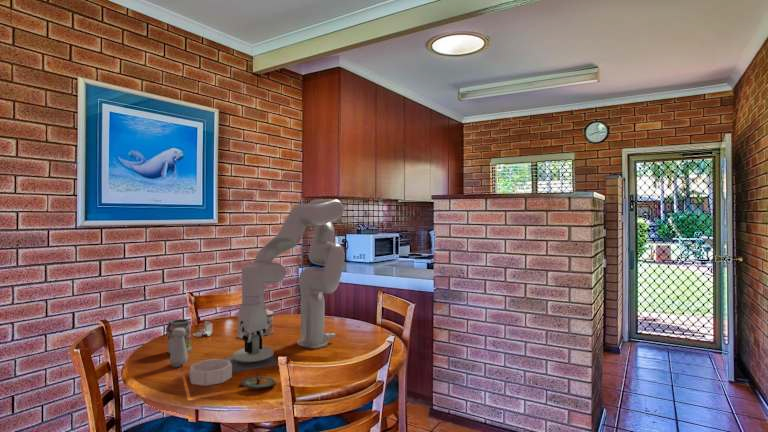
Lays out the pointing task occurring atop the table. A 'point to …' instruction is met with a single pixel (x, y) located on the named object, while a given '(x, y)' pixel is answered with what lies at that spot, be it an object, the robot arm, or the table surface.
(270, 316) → the teacup with lid
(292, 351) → the table surface
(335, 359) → the table surface
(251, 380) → the lid
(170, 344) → the grey jar
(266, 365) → the mat
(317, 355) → the table surface
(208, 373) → the bowl
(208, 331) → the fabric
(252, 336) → the cover
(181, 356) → the salt shaker
